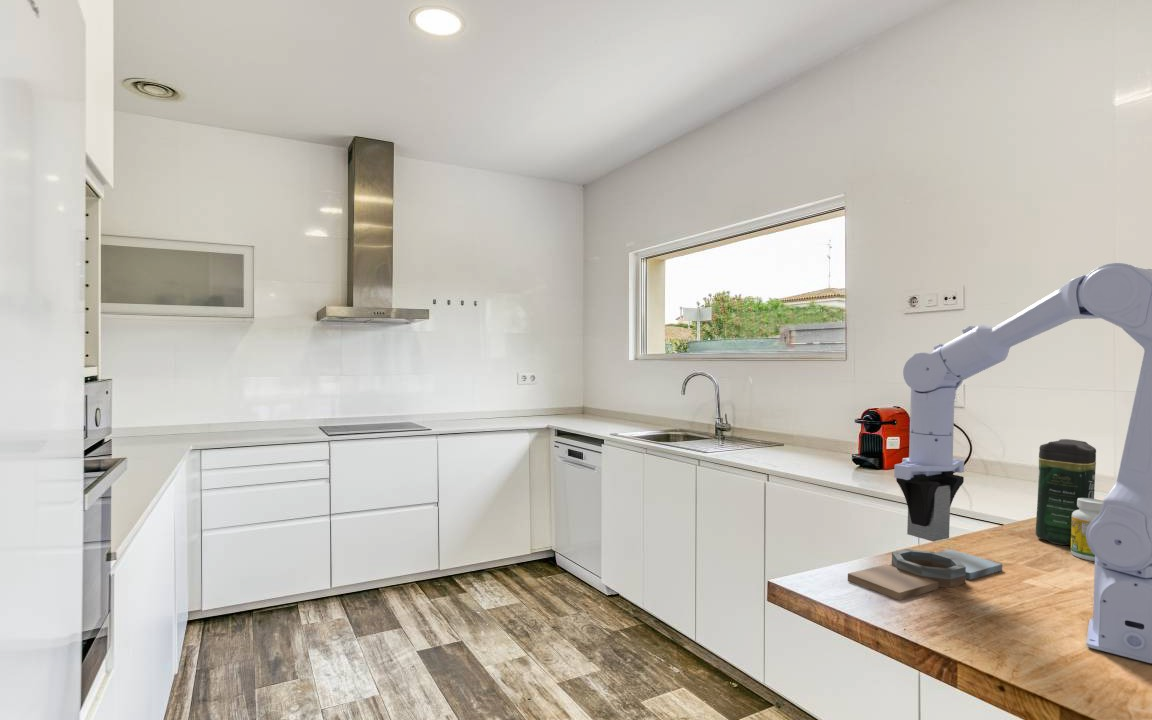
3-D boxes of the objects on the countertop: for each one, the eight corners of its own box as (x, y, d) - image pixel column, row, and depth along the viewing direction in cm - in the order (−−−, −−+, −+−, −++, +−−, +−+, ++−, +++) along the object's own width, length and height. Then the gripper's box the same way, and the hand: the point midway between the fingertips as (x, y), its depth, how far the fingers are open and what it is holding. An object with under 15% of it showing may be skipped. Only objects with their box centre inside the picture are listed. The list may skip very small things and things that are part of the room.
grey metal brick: (933, 541, 90) (934, 487, 90) (907, 534, 93) (908, 481, 93) (949, 538, 92) (950, 484, 92) (922, 531, 95) (924, 479, 95)
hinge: (902, 601, 82) (903, 583, 82) (844, 579, 90) (844, 562, 90) (1005, 571, 95) (1006, 556, 95) (946, 554, 103) (947, 540, 103)
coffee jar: (1085, 551, 106) (1088, 444, 106) (1030, 539, 112) (1033, 438, 112) (1098, 541, 112) (1101, 440, 112) (1045, 531, 119) (1048, 435, 118)
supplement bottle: (1110, 565, 99) (1112, 506, 99) (1068, 557, 103) (1070, 500, 103) (1112, 557, 103) (1114, 500, 103) (1072, 550, 107) (1073, 495, 107)
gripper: (933, 428, 100) (930, 511, 100) (876, 431, 92) (873, 521, 93) (979, 433, 93) (976, 522, 94) (922, 438, 86) (919, 534, 86)
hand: (928, 522), depth 93 cm, fingers closed on grey metal brick, 4 cm apart
